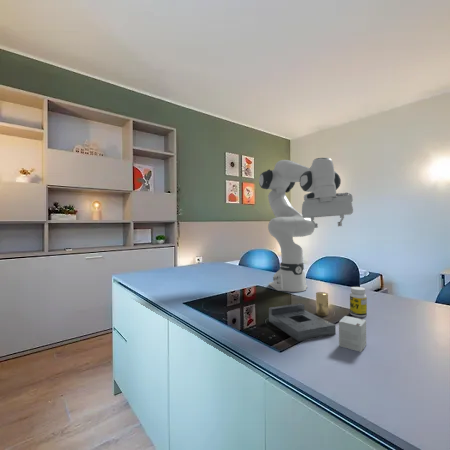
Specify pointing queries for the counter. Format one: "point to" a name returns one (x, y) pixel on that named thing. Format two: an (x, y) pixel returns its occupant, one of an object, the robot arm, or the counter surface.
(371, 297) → the counter surface
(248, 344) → the counter surface
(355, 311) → the supplement bottle
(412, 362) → the counter surface
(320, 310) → the bushing
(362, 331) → the skincare box
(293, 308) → the jig
